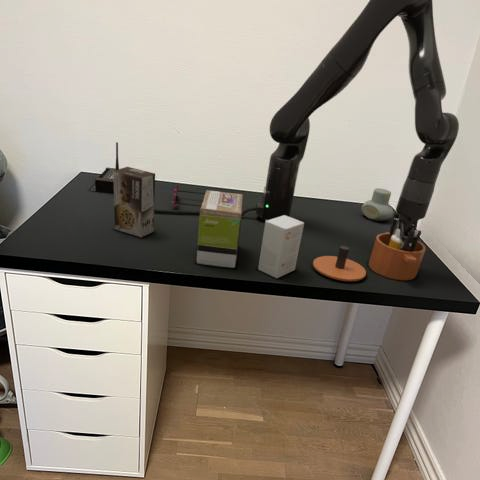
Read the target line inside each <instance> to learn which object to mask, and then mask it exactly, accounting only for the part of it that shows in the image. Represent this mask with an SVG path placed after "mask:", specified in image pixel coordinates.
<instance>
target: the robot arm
mask: <svg viewBox="0 0 480 480" xmlns="http://www.w3.org/2000/svg"><path fill="white" fill-rule="evenodd" d="M433 5H434V4H433V0H369V1H368V2H367V3H366V5H365V7H364V8H363V9H362V10H361V12H360V13H359V15H358V16H357V17H356V19H354V21H353V22H352V23H351V24H350V26H349V27H348V28H347V30H346V31H345V32H344V33H343V35H342V36H341V37H340V38H339V39H338V40H337V42H336V43H335V44H334V45H333V47H331V49H330V50H329V51H328V53H326V55H325V56H324V58H323V59H322V60H321V61H320V62H319V63H318V65H317V66H316V68H315V69H314V70H313V72H311V74H310V75H309V76H308V78H307V79H306V80H305V81H304V83H303V84H302V85H301V86H300V88H299V89H298V90H297V91H296V92H295V93H294V95H292V96H291V98H289V99H288V100H287V101H286V102H285V103H284V105H282V106H281V107H280V108H279V109H278V110H277V111H276V113H274V115H273V116H272V117H271V119H270V123H269V135H270V137H271V139H272V140H273V141H274V142H275V143H278V145H277V147H276V148H275V150H274V151H273V152H272V153H271V154H270V157H269V161H268V168H267V174H266V180H265V186H264V187H263V191H262V192H263V193H262V199H261V202H260V201H259V202H258V201H256V202H255V206H253V207H248V208H245V209H244V210H242V216H241V218H242V217H244V216H245V214H247V213H249V212H254V211H255V213H256V215H258V216H259V218H260V221H261V222H264V223H265V221H267V220H270V219H274V218H277V217H280V216H283V215H285V216H288V217H291V212H292V206H293V201H294V196H295V191H296V186H297V181H298V180H297V179H298V174H299V169H300V164H301V162H302V160H303V159H304V157H305V154H306V149H307V144H308V141H309V135H310V130H311V129H310V127H311V122H310V117H311V115H312V114H313V113H314V112H316V111H317V110H318V109H319V108H321V107H322V106H323V105H325V104H326V103H328V102H330V101H331V100H332V99H334V98H335V97H336V96H338V95H339V94H340V93H341V92H343V91H344V90H345V89H346V88H347V87H348V86H349V84H350V83H352V81H353V80H354V79H355V78H356V77H357V75H359V73H360V72H361V70H362V69H363V68H364V66H365V64H366V62H367V60H368V57H369V56H370V53H371V51H372V48H373V46H374V43H375V42H376V40H377V39H378V37H379V36H380V35H381V33H382V32H384V30H385V29H386V28H387V27H388V26H389V24H390V23H392V22H393V21H394V20H395V19H396V17H399V18H400V20H401V22H402V24H403V26H404V27H403V28H404V29H405V33H406V37H407V41H408V63H407V64H408V65H407V67H408V75H409V76H408V77H409V82H410V87H411V90H412V96H413V99H414V130H415V133H416V136H417V138H418V139H419V141H420V142H421V143H422V144H424V146H423V148H422V149H421V150H420V151H419V152H417V153H416V154H415V155H414V156H413V158H412V159H411V160H412V161H411V163H410V165H409V169H408V172H407V176H406V179H405V180H404V182H403V184H402V188H401V192H400V194H399V198H398V201H397V204H396V208H395V212H393V215H392V221H391V225H390V230H389V232H390V235H395V234H396V231H397V229H398V228H399V229H400V237H399V240H400V241H401V243H400V249H399V250H403V251H413V250H414V248H415V246H416V244H417V241H419V239H420V237H421V234H422V231H421V230H418V229H417V228H418V223H419V222H418V221H419V220H423V219H425V217H426V215H427V213H428V209H429V206H430V203H431V201H432V198H433V194H434V191H435V187H436V183H437V181H438V177H439V174H440V172H441V167H442V165H443V163H444V162H445V160H446V158H447V156H448V155H449V153H450V152H451V149H452V148H453V147H454V144H455V142H456V140H457V138H458V134H459V129H460V128H459V127H460V123H459V119H458V118H457V116H456V115H455V114H453V113H452V112H444V111H443V107H442V106H443V104H442V101H443V100H444V99H445V98H446V95H447V87H446V82H445V78H444V73H443V69H442V64H441V60H440V55H439V50H438V45H437V39H436V38H437V37H436V31H435V23H434V21H435V20H434V8H433ZM154 213H159V214H177V215H178V214H179V215H200V210H176V209H161V208H154ZM404 236H407V238H404ZM391 237H392V236H391ZM404 241H406V242H405V244H404ZM411 243H412V245H411Z"/></svg>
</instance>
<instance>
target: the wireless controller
mask: <svg viewBox="0 0 480 480" xmlns="http://www.w3.org/2000/svg"><path fill="white" fill-rule="evenodd" d="M114 167H115V168H114ZM114 167H105V169H104V170H103V171H102V172H101V173H100V174H99V176H97V177H96V178H95V179H94V186H92V188H91V189H90V191H91V192H96V193H97V192H98V193H105V194H113V195H114V177H113V171H116V170H119V169H120V164H119V142H118V141H117V142H115V166H114Z"/></svg>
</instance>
